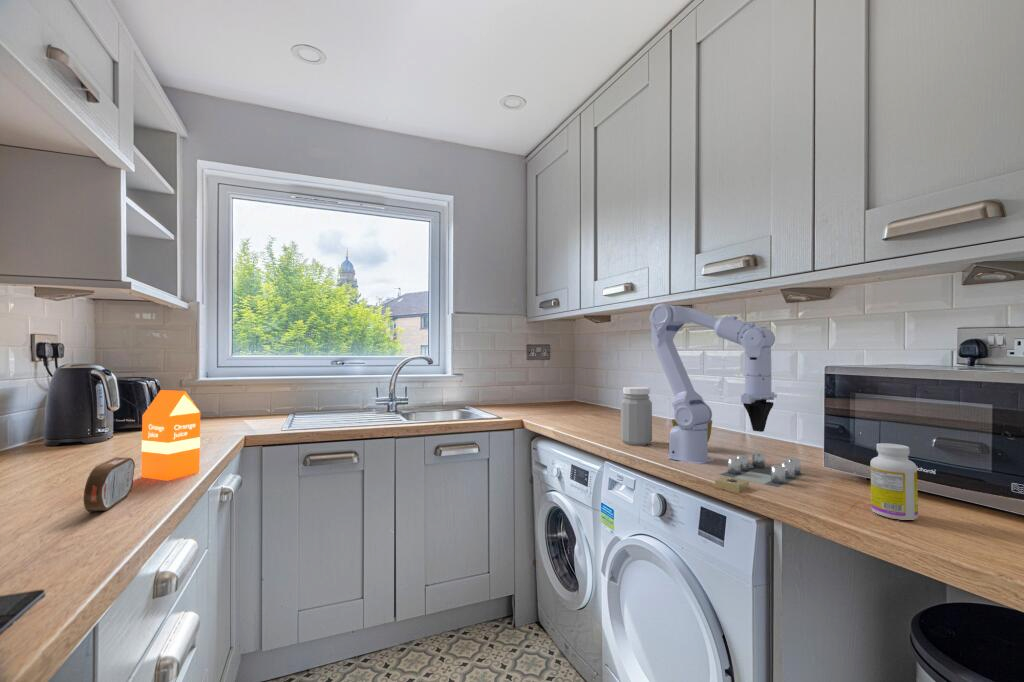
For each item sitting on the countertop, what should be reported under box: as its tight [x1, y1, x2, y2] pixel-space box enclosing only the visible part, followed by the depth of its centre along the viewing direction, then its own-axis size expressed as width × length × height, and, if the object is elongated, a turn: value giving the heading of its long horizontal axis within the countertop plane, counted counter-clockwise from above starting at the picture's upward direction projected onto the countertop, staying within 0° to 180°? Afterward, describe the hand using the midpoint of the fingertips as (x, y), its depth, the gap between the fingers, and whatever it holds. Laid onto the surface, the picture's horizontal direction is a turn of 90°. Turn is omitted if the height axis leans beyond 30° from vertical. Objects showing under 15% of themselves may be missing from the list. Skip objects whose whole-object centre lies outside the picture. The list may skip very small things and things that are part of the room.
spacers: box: [727, 451, 802, 485], centre depth 112 cm, size 13×14×4 cm
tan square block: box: [714, 476, 750, 495], centre depth 100 cm, size 5×5×2 cm
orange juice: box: [140, 389, 201, 481], centre depth 110 cm, size 8×9×20 cm
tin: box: [83, 456, 136, 513], centre depth 89 cm, size 15×3×8 cm, turn 21°
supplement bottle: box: [869, 442, 919, 519], centre depth 85 cm, size 7×7×13 cm
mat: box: [719, 463, 806, 488], centre depth 111 cm, size 13×17×1 cm
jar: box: [620, 386, 653, 446], centre depth 150 cm, size 10×10×18 cm
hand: (758, 431), depth 113 cm, fingers closed
